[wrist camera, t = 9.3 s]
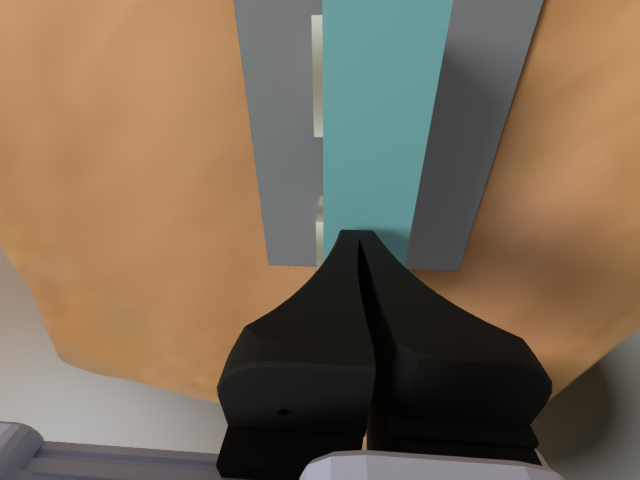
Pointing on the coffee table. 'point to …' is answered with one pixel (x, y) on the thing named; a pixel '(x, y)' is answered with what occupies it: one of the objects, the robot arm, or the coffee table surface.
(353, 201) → the teal beam
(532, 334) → the coffee table surface
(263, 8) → the grey flat plate
